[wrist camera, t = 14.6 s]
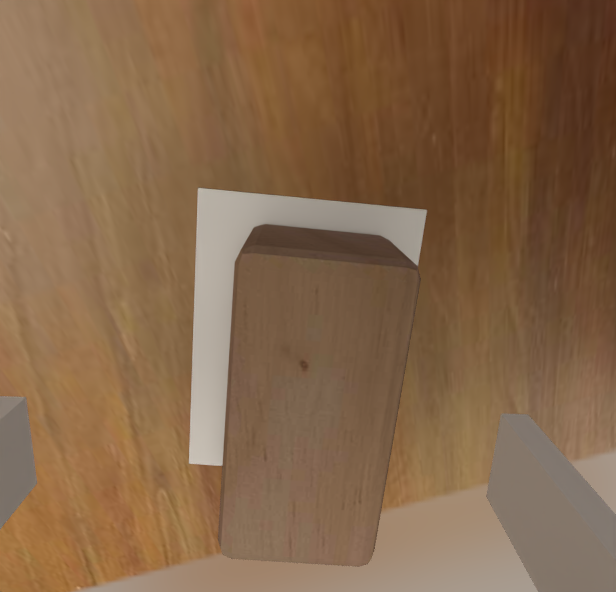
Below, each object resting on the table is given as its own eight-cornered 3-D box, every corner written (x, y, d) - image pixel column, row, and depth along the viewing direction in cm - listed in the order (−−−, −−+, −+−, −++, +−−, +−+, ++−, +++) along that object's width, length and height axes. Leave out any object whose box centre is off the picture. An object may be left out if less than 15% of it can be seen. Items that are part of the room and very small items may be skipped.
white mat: (425, 209, 34) (426, 210, 34) (382, 473, 40) (383, 476, 40) (199, 187, 34) (198, 188, 33) (190, 460, 40) (189, 463, 39)
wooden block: (214, 565, 30) (233, 246, 24) (234, 465, 39) (251, 220, 34) (374, 575, 30) (428, 265, 25) (355, 474, 40) (391, 234, 34)
